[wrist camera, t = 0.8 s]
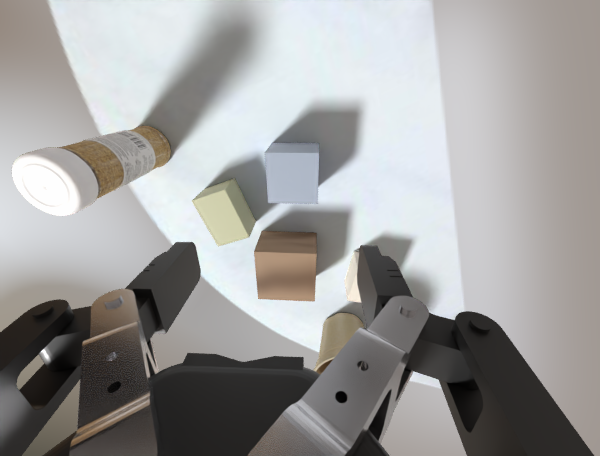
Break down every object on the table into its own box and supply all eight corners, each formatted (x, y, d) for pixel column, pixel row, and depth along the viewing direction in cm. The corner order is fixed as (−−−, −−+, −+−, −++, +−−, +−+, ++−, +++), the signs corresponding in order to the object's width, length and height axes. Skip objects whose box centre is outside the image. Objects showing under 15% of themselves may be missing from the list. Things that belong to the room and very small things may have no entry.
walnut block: (262, 230, 34) (254, 251, 30) (316, 232, 34) (316, 253, 30) (265, 273, 38) (258, 298, 33) (314, 275, 37) (314, 301, 33)
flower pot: (305, 309, 40) (302, 362, 33) (367, 297, 38) (380, 350, 31) (321, 350, 44) (322, 405, 37) (378, 341, 43) (392, 396, 35)
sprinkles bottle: (123, 141, 30) (-6, 178, 18) (149, 115, 28) (28, 138, 16) (155, 174, 31) (57, 228, 19) (181, 152, 30) (92, 195, 18)
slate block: (272, 142, 29) (264, 152, 25) (318, 142, 29) (319, 152, 24) (274, 186, 31) (267, 203, 27) (317, 187, 31) (317, 203, 27)
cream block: (353, 250, 35) (357, 269, 31) (383, 255, 35) (390, 274, 32) (344, 280, 37) (347, 300, 34) (372, 284, 37) (378, 305, 34)
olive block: (205, 188, 32) (191, 200, 28) (235, 177, 31) (224, 189, 28) (228, 230, 34) (218, 246, 31) (256, 221, 34) (249, 237, 30)
